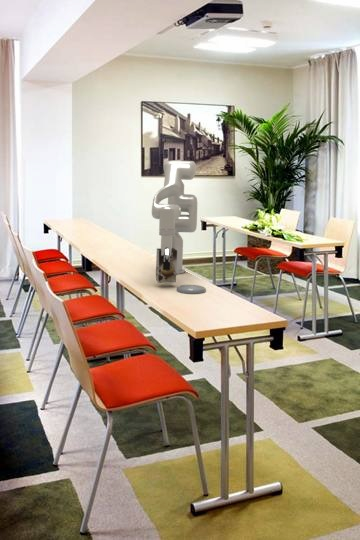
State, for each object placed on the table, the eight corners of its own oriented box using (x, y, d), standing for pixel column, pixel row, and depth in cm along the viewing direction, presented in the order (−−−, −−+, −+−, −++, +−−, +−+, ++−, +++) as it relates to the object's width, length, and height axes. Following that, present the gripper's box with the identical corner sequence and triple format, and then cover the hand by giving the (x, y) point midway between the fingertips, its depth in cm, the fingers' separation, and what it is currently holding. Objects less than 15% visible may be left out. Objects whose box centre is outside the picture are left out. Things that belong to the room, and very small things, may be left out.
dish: (176, 287, 301) (176, 284, 300) (204, 287, 301) (204, 284, 301) (177, 293, 287) (177, 290, 287) (207, 294, 288) (207, 291, 287)
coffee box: (158, 283, 298) (159, 250, 294) (155, 280, 304) (156, 248, 300) (176, 282, 300) (177, 250, 296) (173, 279, 306) (174, 247, 302)
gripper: (159, 229, 305) (158, 264, 309) (159, 234, 288) (158, 271, 292) (174, 229, 305) (173, 264, 309) (175, 235, 288) (174, 272, 292)
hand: (166, 267), depth 300 cm, fingers closed on coffee box, 7 cm apart
